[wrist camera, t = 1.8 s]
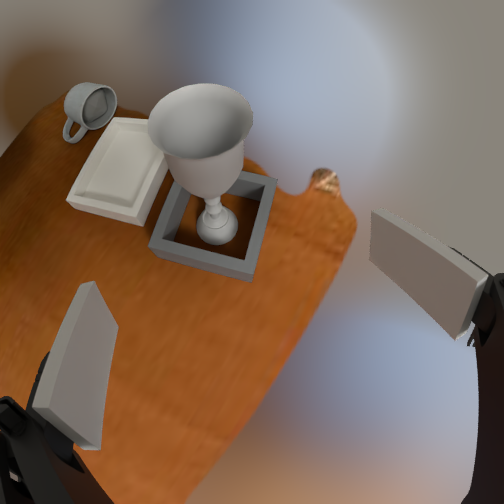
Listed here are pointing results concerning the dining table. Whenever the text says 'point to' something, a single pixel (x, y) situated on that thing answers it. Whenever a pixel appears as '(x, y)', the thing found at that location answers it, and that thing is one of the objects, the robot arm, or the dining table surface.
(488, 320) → the robot arm
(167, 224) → the charcoal collar
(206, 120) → the chalice
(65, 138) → the ceramic mug
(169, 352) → the dining table surface
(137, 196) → the off-white tray
